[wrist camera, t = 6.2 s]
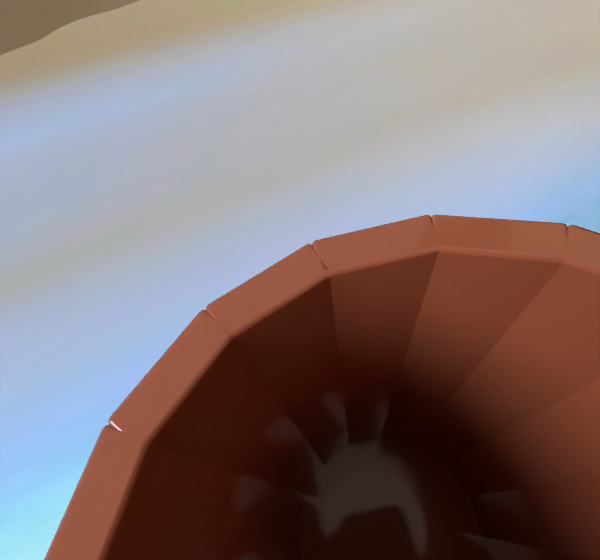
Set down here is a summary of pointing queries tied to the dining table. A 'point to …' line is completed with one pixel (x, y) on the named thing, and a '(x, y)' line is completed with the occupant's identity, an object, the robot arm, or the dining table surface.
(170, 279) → the dining table surface
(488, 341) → the pot
